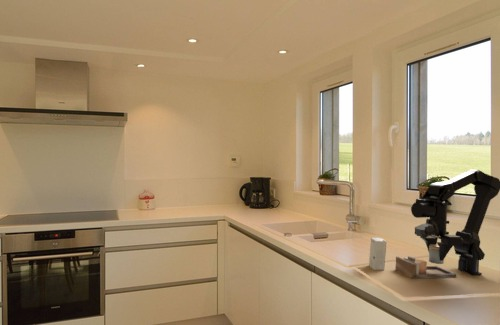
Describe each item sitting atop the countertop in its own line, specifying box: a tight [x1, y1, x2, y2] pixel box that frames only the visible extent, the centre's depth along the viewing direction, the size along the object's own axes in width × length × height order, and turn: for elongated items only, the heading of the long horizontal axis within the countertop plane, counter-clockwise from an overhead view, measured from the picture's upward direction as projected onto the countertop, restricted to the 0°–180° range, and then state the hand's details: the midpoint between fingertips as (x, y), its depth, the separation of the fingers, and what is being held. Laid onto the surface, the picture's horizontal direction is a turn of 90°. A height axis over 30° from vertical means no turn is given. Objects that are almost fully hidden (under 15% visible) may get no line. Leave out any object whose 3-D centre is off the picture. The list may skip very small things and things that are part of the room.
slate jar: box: [428, 244, 445, 265], centre depth 133 cm, size 5×5×6 cm
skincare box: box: [368, 237, 387, 271], centre depth 137 cm, size 6×4×12 cm
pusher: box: [403, 256, 419, 275], centre depth 131 cm, size 1×7×6 cm, turn 12°
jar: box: [415, 258, 428, 275], centre depth 132 cm, size 5×5×4 cm
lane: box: [395, 256, 457, 280], centre depth 132 cm, size 18×10×6 cm, turn 102°
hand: (436, 258), depth 133 cm, fingers closed on slate jar, 5 cm apart
